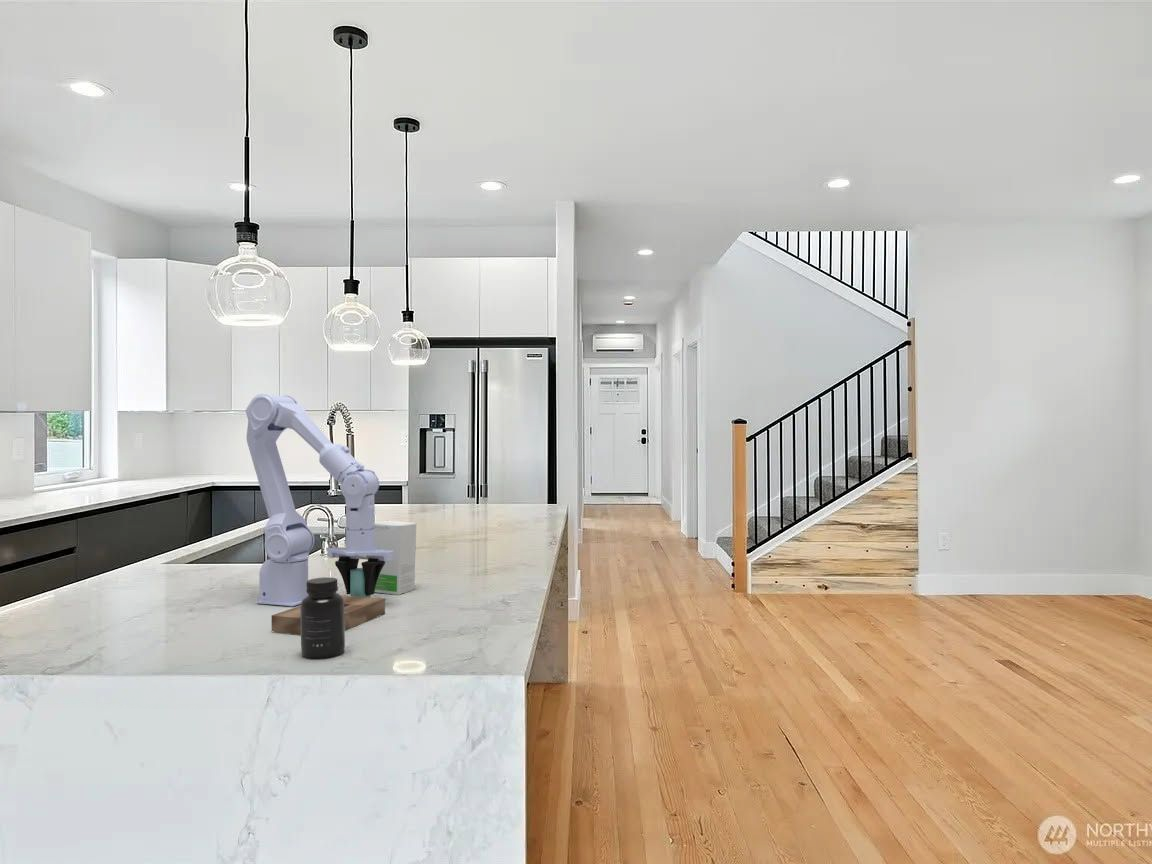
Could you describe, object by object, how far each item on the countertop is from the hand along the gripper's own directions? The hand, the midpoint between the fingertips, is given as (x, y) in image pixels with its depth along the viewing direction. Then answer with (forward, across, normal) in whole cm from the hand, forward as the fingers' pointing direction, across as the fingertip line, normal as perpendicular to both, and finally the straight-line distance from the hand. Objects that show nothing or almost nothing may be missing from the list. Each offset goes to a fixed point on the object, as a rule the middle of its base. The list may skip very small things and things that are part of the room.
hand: (360, 593), depth 157 cm
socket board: (+2, +3, -14) cm, 15 cm away
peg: (+2, 0, 0) cm, 2 cm away
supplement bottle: (+2, +14, -31) cm, 34 cm away
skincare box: (+2, -1, +14) cm, 14 cm away
